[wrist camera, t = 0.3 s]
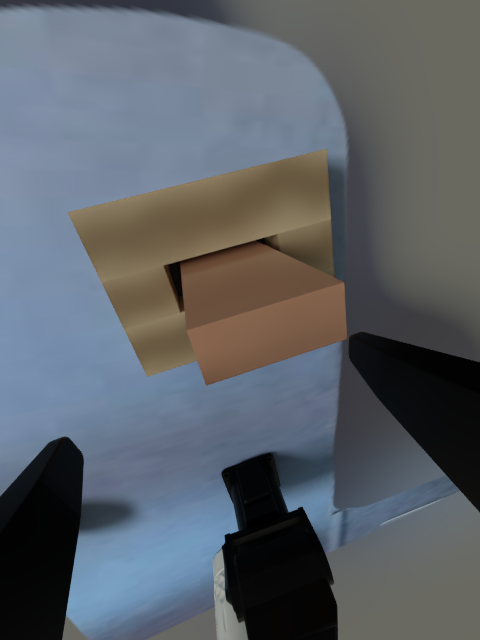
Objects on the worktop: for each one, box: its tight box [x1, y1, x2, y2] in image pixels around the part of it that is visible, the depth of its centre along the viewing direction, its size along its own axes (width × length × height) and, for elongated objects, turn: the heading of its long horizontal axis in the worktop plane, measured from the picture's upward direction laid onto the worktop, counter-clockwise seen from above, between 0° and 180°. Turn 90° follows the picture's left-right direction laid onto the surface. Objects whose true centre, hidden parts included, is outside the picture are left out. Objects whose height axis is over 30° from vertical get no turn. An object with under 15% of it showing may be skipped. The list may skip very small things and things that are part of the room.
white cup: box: [213, 549, 248, 640], centre depth 35 cm, size 8×8×10 cm
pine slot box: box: [68, 149, 335, 377], centre depth 20 cm, size 12×16×4 cm
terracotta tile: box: [180, 240, 347, 385], centre depth 16 cm, size 2×6×13 cm, turn 103°
